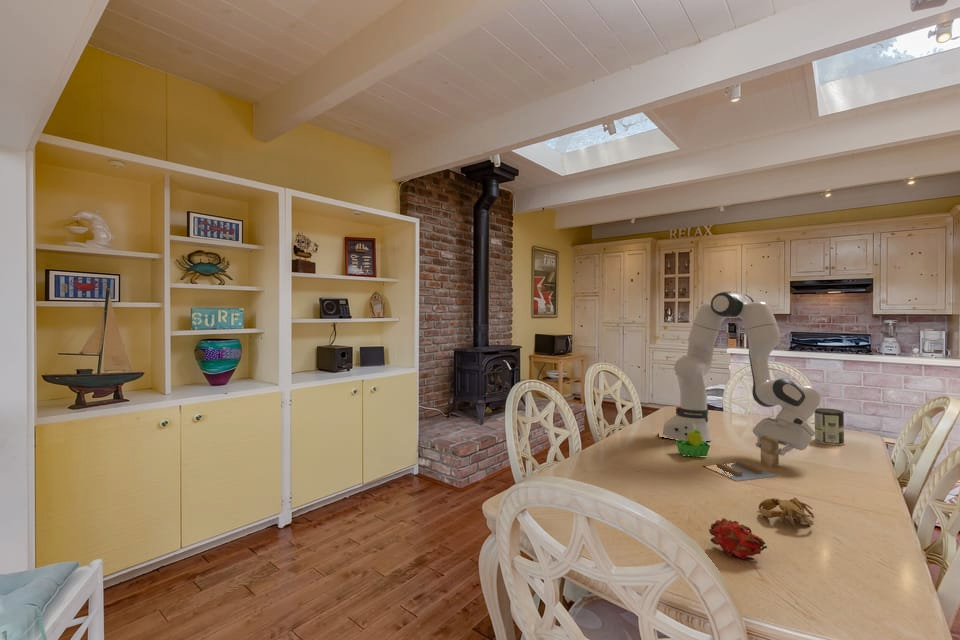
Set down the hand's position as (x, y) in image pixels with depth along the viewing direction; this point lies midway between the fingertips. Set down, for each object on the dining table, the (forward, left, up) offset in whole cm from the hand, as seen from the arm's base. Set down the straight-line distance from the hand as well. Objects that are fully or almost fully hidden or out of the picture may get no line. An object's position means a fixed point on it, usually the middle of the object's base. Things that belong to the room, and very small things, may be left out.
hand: (768, 450), depth 163 cm
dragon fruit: (-10, -77, -6) cm, 78 cm away
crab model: (+2, -50, -6) cm, 50 cm away
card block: (0, 0, -6) cm, 6 cm away
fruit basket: (-26, -2, -6) cm, 26 cm away
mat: (-10, -13, -6) cm, 17 cm away
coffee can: (+24, +47, -6) cm, 54 cm away
